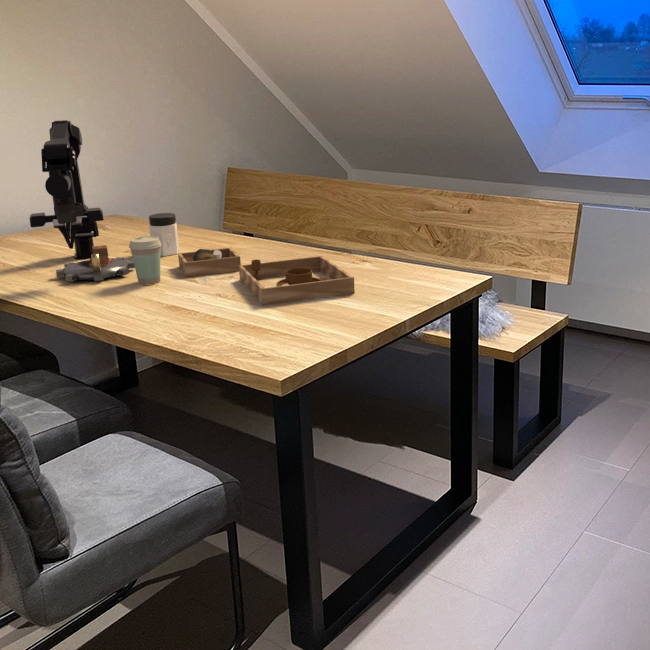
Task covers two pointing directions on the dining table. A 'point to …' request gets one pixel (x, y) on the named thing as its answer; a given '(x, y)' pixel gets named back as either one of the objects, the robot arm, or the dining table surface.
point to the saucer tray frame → (296, 292)
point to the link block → (101, 252)
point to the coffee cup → (146, 258)
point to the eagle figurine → (206, 255)
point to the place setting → (290, 275)
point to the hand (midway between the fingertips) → (71, 248)
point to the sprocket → (95, 269)
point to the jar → (165, 232)
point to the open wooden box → (209, 263)
